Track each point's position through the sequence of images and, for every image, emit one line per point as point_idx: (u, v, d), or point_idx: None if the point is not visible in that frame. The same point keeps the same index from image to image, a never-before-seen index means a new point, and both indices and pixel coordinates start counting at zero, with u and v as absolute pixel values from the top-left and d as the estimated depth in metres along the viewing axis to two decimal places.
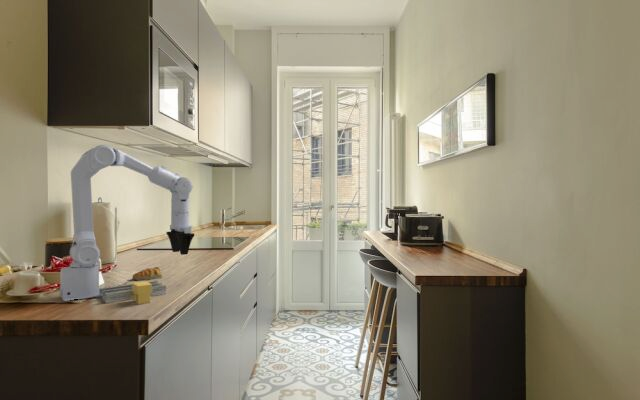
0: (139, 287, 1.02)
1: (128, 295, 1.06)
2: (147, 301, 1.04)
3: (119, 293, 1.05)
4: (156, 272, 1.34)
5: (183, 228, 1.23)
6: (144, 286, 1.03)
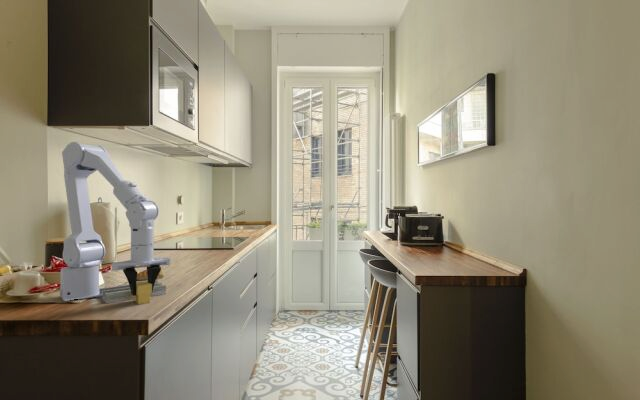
0: (139, 287, 1.02)
1: (128, 295, 1.06)
2: (147, 301, 1.04)
3: (119, 293, 1.05)
4: None
5: None
6: (144, 286, 1.03)
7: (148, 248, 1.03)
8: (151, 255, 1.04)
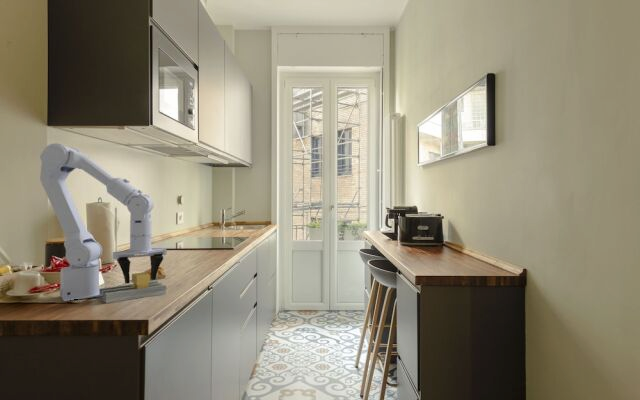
0: (138, 277, 1.09)
1: (128, 295, 1.06)
2: None
3: (119, 293, 1.05)
4: (160, 272, 1.34)
5: None
6: (143, 276, 1.10)
7: (146, 239, 1.11)
8: (149, 245, 1.12)
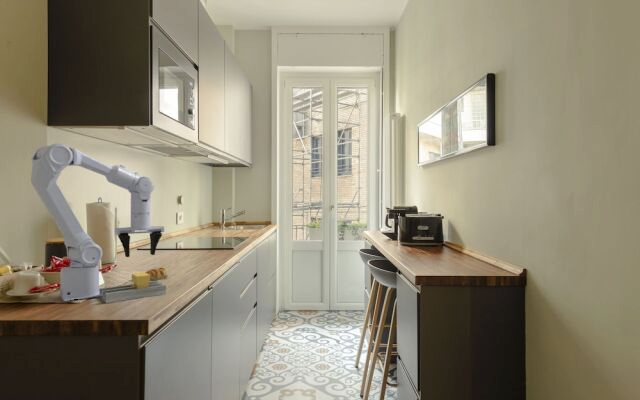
0: (138, 277, 1.09)
1: (128, 295, 1.06)
2: None
3: (119, 293, 1.05)
4: (162, 272, 1.33)
5: None
6: (143, 276, 1.10)
7: (145, 216, 1.21)
8: (148, 222, 1.22)
